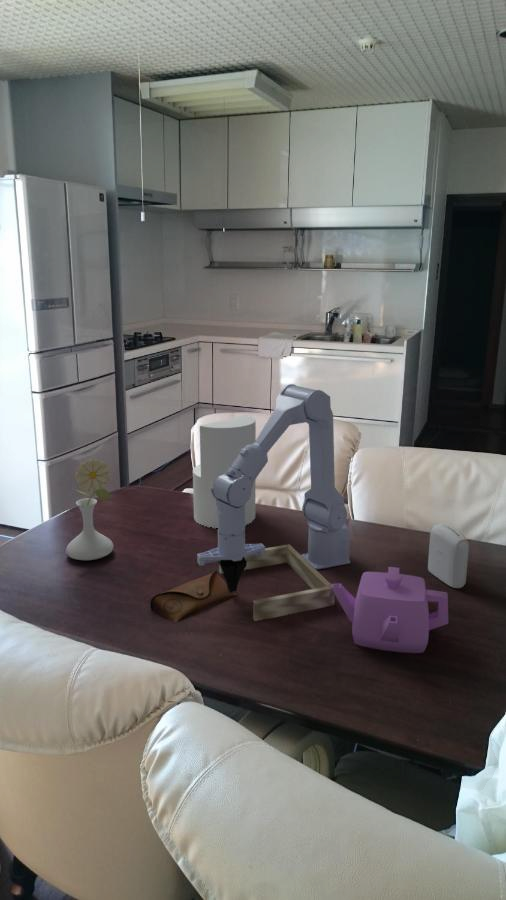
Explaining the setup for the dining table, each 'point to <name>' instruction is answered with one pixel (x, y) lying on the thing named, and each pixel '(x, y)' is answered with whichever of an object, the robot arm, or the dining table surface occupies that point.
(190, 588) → the sunglasses case
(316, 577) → the open wooden frame
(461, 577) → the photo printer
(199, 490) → the cylinder
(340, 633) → the dining table surface
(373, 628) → the teakettle
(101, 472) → the flower in vase
